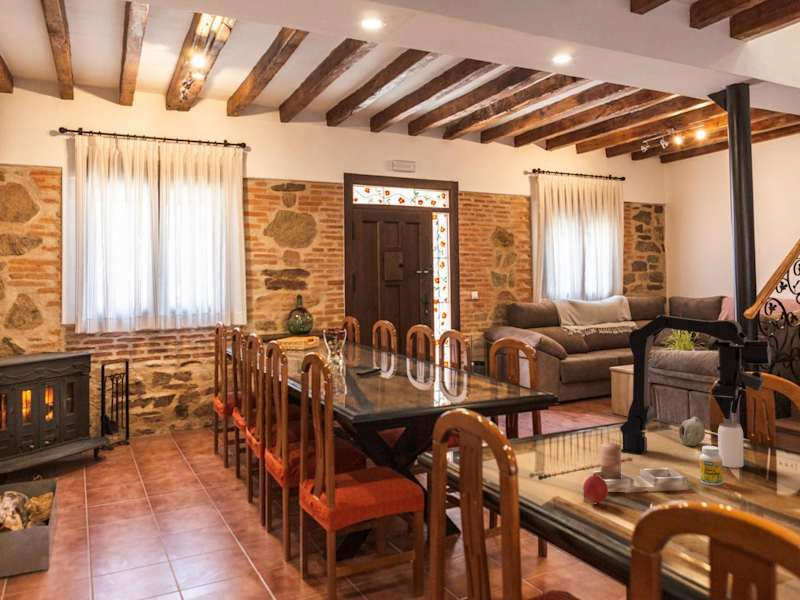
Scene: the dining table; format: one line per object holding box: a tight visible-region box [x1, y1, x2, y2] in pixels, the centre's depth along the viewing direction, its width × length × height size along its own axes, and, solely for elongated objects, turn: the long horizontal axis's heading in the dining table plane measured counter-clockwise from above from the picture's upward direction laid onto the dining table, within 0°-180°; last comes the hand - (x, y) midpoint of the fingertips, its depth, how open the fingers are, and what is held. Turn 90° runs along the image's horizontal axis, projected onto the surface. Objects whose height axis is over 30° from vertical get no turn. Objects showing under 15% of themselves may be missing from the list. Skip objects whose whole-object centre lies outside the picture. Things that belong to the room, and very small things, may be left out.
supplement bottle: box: [699, 445, 723, 487], centre depth 165 cm, size 5×5×10 cm
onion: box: [582, 473, 609, 504], centre depth 151 cm, size 6×6×8 cm
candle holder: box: [589, 442, 689, 493], centre depth 163 cm, size 24×9×11 cm, turn 93°
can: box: [717, 422, 744, 469], centre depth 179 cm, size 6×6×12 cm
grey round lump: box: [678, 416, 706, 447], centre depth 203 cm, size 9×8×10 cm
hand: (730, 416), depth 179 cm, fingers open, 9 cm apart
